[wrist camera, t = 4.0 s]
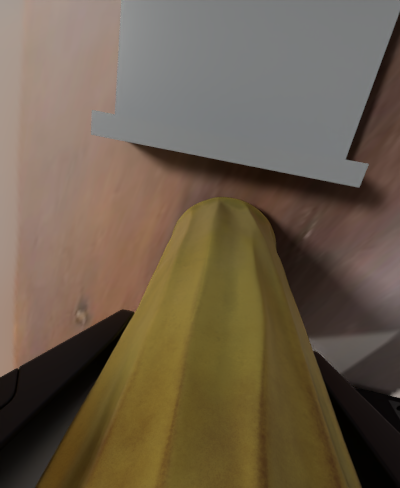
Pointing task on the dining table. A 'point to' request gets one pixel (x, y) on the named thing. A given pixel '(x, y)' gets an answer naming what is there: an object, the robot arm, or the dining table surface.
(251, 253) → the vase
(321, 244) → the dining table surface
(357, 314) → the dining table surface
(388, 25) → the tiered shelf
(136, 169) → the dining table surface
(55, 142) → the dining table surface
